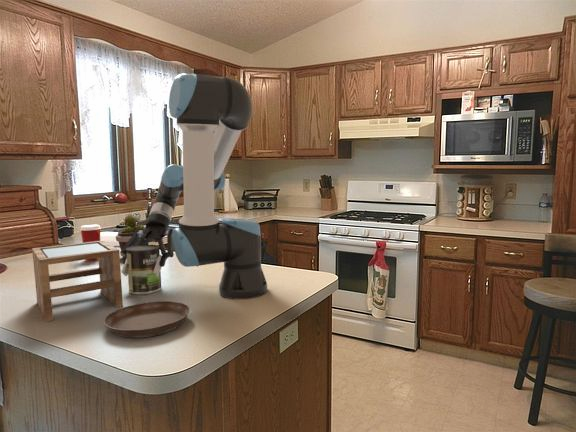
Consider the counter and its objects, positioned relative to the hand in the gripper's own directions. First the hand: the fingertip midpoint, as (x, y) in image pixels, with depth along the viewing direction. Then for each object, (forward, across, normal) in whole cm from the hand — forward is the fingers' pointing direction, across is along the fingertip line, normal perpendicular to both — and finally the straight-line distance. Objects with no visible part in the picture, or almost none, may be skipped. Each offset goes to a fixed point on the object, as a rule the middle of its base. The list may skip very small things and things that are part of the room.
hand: (139, 274), depth 132 cm
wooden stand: (+13, +13, +5) cm, 19 cm away
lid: (+2, +13, +15) cm, 20 cm away
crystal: (-48, +51, -57) cm, 90 cm away
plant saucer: (+22, -16, +13) cm, 30 cm away
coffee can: (+2, 0, -6) cm, 7 cm away
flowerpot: (-30, +29, -39) cm, 57 cm away
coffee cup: (-26, +45, -34) cm, 63 cm away
